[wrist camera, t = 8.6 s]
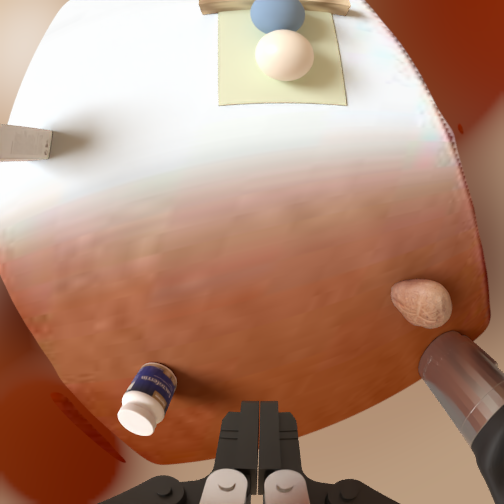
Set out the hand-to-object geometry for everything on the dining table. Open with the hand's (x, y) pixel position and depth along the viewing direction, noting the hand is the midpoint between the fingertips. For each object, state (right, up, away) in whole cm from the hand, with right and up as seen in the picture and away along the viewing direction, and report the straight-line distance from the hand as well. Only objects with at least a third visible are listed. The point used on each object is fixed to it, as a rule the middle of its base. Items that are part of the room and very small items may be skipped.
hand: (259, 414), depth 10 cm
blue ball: (+2, +33, +11) cm, 35 cm away
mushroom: (+19, +2, +20) cm, 28 cm away
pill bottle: (-14, -11, +24) cm, 30 cm away
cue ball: (+3, +27, +12) cm, 29 cm away
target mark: (+3, +30, +14) cm, 33 cm away
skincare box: (-31, +22, +17) cm, 42 cm away
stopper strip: (+3, +37, +13) cm, 39 cm away
